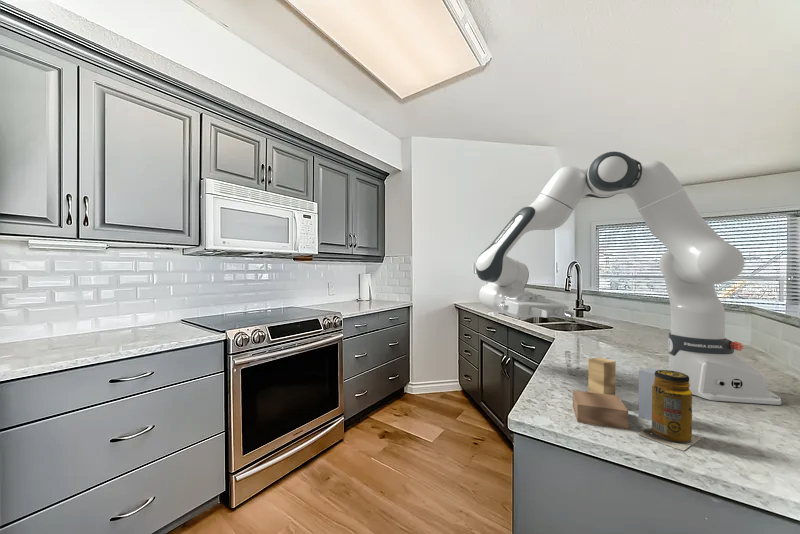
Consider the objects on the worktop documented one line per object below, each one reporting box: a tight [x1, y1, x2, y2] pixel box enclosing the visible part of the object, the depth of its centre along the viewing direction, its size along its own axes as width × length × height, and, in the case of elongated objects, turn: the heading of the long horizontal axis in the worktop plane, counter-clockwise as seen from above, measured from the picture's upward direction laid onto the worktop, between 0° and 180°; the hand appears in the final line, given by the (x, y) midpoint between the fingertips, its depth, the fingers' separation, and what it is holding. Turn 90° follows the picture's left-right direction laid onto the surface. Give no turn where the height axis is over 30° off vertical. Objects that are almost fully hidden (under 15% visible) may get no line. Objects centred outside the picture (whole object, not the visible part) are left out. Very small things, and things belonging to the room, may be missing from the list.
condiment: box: [636, 369, 701, 452], centre depth 66 cm, size 7×8×12 cm
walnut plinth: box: [572, 390, 629, 430], centre depth 75 cm, size 9×9×4 cm
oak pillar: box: [587, 357, 617, 395], centre depth 83 cm, size 4×4×10 cm
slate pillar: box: [638, 367, 658, 422], centre depth 74 cm, size 4×4×10 cm
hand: (560, 315), depth 93 cm, fingers open, 8 cm apart
